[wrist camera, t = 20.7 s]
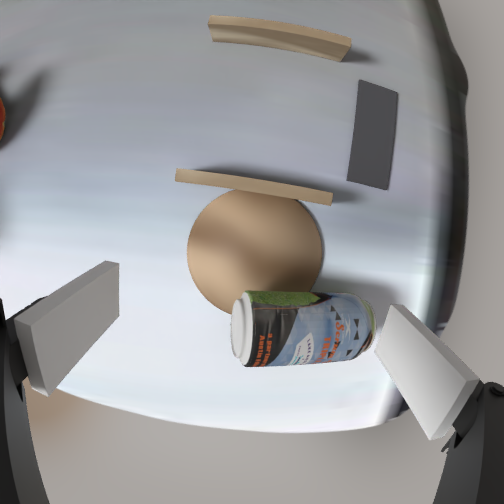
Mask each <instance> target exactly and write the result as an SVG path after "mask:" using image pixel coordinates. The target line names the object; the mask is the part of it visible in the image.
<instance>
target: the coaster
mask: <svg viewBox="0 0 504 504" xmlns="http://www.w3.org/2000/svg"><path fill="white" fill-rule="evenodd" d="M321 259H322V246H321V239H320V236H319V232H318V229H317V227H316V225H315V223H314V221H313V219H312V218H311V216H310V215H309V213H308V212H307V211H306V210H305V209H304V208H303V207H302V206H301V205H300V204H299V203H298V202H297V201H295V200H294V199H292V198H286V197H280V196H274V195H268V194H262V193H256V192H250V191H243V190H237V189H236V190H233V191H229V192H227V193H225V194H223V195H221V196H219V197H218V198H216V199H215V200H213V201H212V202H211V203H210V204H209V205H207V206H206V207H205V209H204V210H203V211H202V212H201V213H200V215H199V216H198V218H197V219H196V221H195V223H194V225H193V227H192V229H191V232H190V235H189V239H188V245H187V260H188V266H189V270H190V273H191V276H192V279H193V281H194V283H195V284H196V286H197V288H198V289H199V291H200V292H201V293H202V295H203V296H204V297H205V298H206V299H207V300H208V301H209V302H211V303H212V304H213V305H214V306H216V307H217V308H219V309H220V310H222V311H224V312H226V313H229V314H232V310H233V305H234V303H235V301H236V300H237V299H240V298H241V296H242V294H243V293H244V292H245V291H247V290H252V291H279V292H309V291H310V289H311V288H312V286H313V284H314V283H315V280H316V278H317V276H318V273H319V270H320V266H321Z"/></svg>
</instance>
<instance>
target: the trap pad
mask: <svg viewBox="0 0 504 504" xmlns="http://www.w3.org/2000/svg"><path fill="white" fill-rule="evenodd" d="M396 104H397V92H395V91H392V90H390V89H387V88H384V87H381V86H378V85H375V84H372V83H369V82H366V81H363V80H359V84H358V95H357V105H356V115H355V124H354V132H353V140H352V148H351V155H350V162H349V168H348V175H347V181H351V182H356V183H360V184H364V185H368V186H372V187H376V188H380V189H383V190H387V186H388V179H389V173H390V165H391V157H392V149H393V140H394V130H395V118H396Z"/></svg>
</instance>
